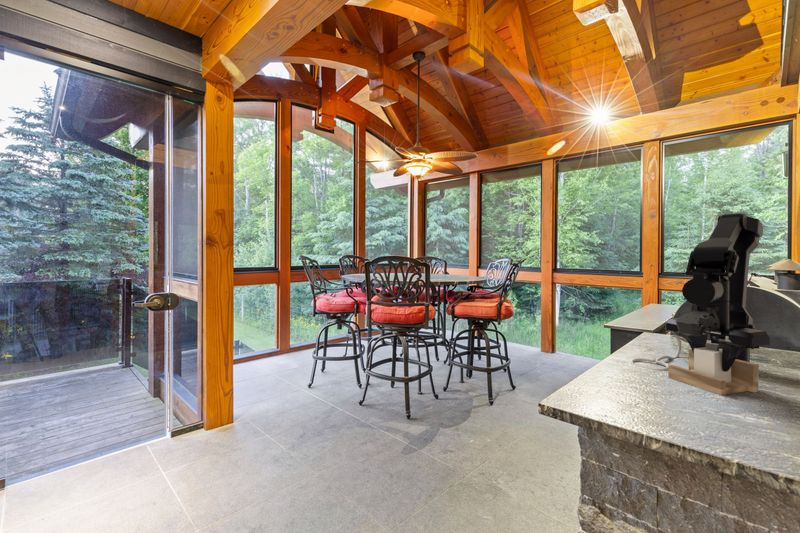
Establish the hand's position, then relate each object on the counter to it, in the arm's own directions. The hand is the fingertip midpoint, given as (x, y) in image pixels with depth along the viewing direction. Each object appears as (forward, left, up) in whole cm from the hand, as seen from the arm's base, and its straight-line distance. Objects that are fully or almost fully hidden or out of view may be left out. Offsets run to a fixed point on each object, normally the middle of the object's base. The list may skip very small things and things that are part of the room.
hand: (712, 367), depth 86 cm
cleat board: (0, -1, -4) cm, 4 cm away
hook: (-6, -18, -5) cm, 19 cm away
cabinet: (0, 0, -3) cm, 3 cm away
